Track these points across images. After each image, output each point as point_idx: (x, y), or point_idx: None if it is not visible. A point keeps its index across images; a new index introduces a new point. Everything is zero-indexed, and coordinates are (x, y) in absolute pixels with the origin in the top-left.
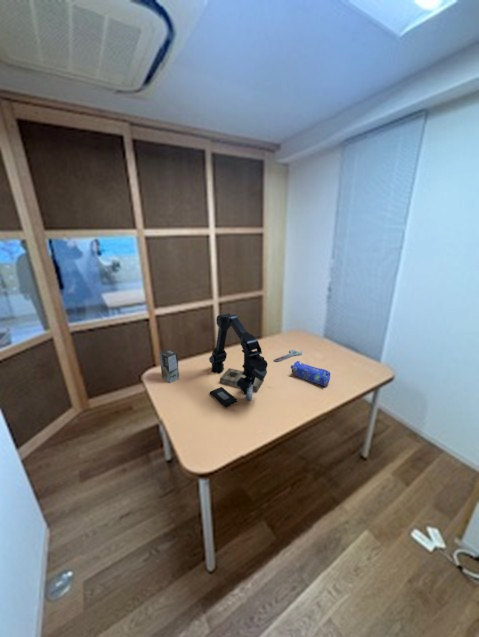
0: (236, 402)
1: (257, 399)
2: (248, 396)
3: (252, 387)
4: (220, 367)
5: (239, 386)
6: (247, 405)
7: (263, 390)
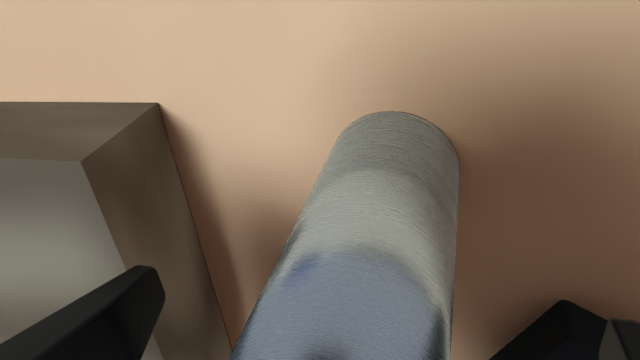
0: (578, 307)
1: (337, 14)
2: (455, 215)
3: (317, 316)
4: None
5: (217, 352)
6: (618, 129)
7: (37, 15)
